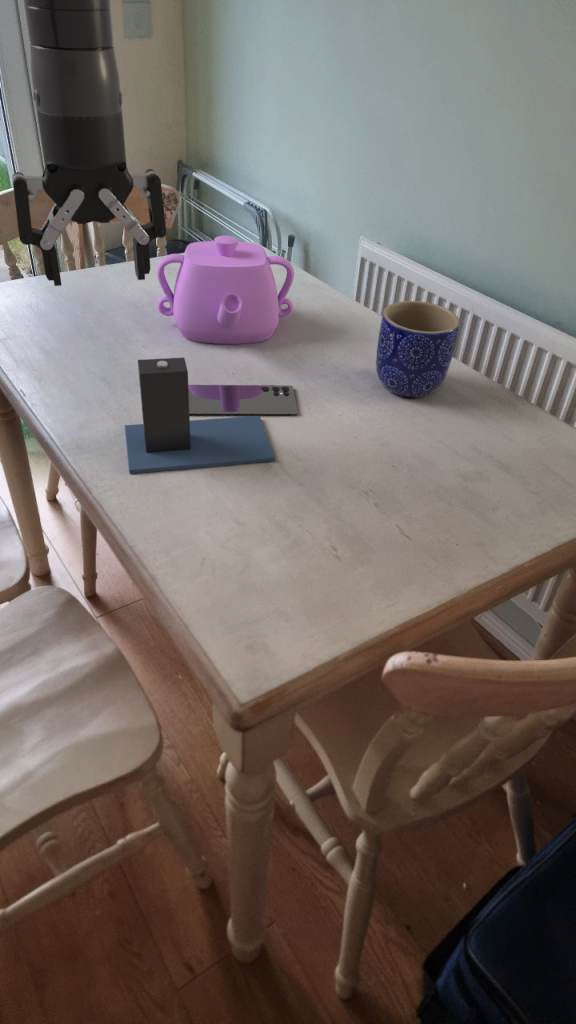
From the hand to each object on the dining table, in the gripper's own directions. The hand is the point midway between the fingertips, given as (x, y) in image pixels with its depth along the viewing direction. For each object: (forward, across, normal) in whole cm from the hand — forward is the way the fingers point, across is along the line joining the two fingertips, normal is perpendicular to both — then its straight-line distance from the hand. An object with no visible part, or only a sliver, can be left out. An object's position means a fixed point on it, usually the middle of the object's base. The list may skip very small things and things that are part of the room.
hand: (99, 280), depth 73 cm
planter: (+22, -44, -7) cm, 50 cm away
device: (+21, -6, 0) cm, 22 cm away
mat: (+22, -10, +1) cm, 24 cm away
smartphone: (+22, -18, -8) cm, 30 cm away
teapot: (+22, -22, -31) cm, 44 cm away
